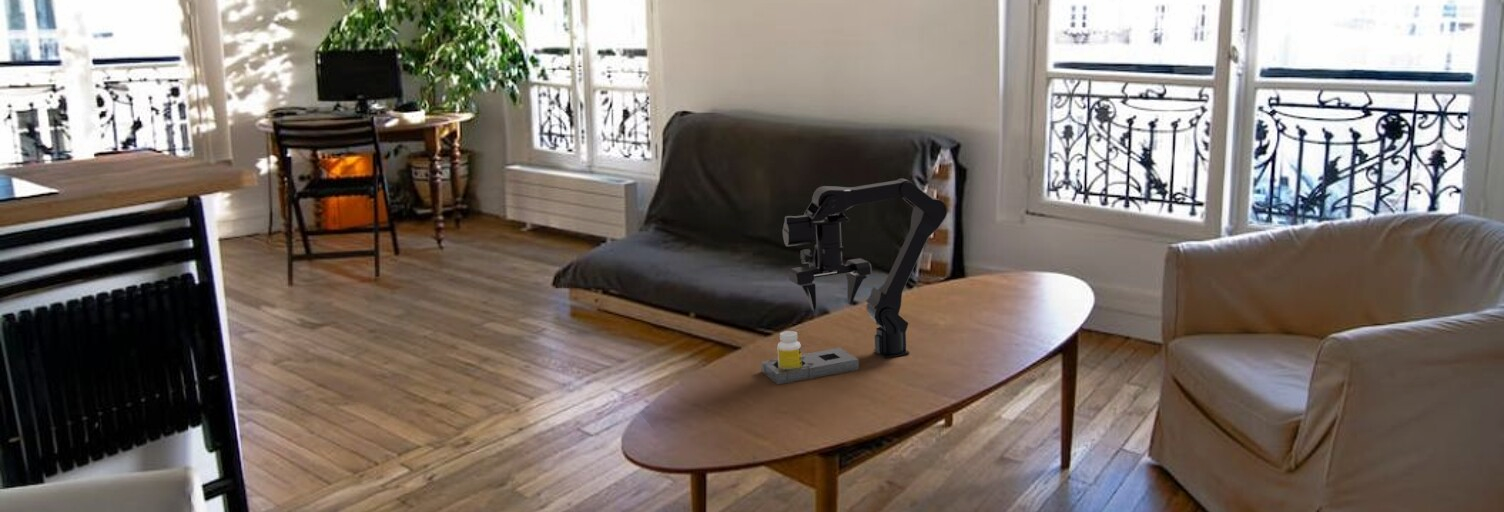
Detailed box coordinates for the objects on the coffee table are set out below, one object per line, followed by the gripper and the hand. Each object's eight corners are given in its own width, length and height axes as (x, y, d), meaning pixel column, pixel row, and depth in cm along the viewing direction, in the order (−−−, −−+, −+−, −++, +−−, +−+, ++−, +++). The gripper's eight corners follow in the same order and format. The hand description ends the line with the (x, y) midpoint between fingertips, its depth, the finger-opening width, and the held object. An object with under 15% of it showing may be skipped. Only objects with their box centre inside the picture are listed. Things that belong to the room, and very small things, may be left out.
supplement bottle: (804, 376, 268) (802, 335, 266) (781, 379, 267) (779, 338, 265) (799, 369, 273) (797, 328, 271) (776, 371, 272) (774, 331, 270)
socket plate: (840, 357, 280) (839, 347, 279) (859, 369, 270) (858, 359, 270) (760, 371, 273) (760, 361, 272) (777, 384, 263) (776, 374, 263)
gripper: (850, 230, 282) (853, 293, 285) (778, 240, 276) (781, 305, 279) (871, 239, 272) (873, 304, 275) (796, 249, 265) (800, 316, 269)
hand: (831, 307), depth 275 cm, fingers open, 9 cm apart
